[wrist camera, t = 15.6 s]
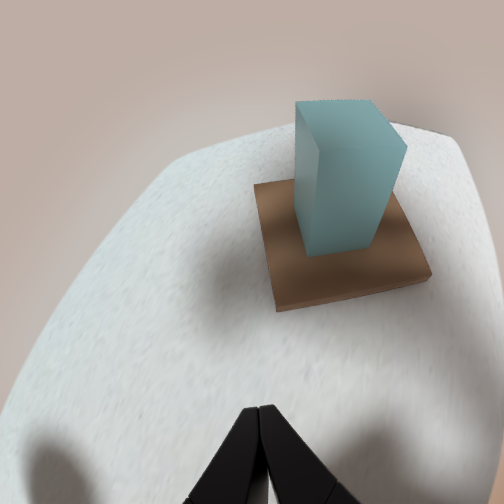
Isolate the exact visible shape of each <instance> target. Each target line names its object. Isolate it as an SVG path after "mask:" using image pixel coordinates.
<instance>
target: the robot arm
mask: <svg viewBox="0 0 504 504" xmlns="http://www.w3.org/2000/svg"><path fill="white" fill-rule="evenodd" d="M268 472H269V474H268ZM269 476H270V480H271V484H272V487H273V491H274V494H275V498H276V501H277V504H362V503H361V502H360V501H359V500H358V499H357V498H356V497H354V496H353V495H352V494H351V493H350V492H349V491H348V490H347V489H346V488H345V487H344V485H343V484H342V483H341V482H338V479H337V478H336V477H335V476H334V475H333V474H332V473H331V472H330V471H329V469H328V468H327V467H326V466H325V465H324V464H323V463H322V462H321V460H320V459H319V458H318V457H317V456H316V455H315V454H314V452H313V451H312V450H311V449H310V448H309V447H308V445H307V444H306V443H305V442H304V441H303V440H302V438H301V437H300V436H299V435H298V434H297V432H296V431H295V430H294V429H293V428H292V426H291V425H290V424H289V423H288V421H287V420H286V419H285V418H284V416H283V415H282V414H281V413H280V411H279V410H278V409H277V408H276V406H275V405H273V404H271V405H264V406H260V407H259V408H258V407H249V408H244V409H243V410H242V411H241V413H240V415H239V416H238V418H237V420H236V421H235V423H234V425H233V426H232V428H231V430H230V431H229V433H228V435H227V436H226V438H225V440H224V441H223V443H222V444H221V446H220V448H219V449H218V451H217V452H216V454H215V456H214V457H213V459H212V460H211V462H210V464H209V465H208V467H207V468H206V470H205V471H204V473H203V474H202V476H201V477H200V479H199V480H198V482H197V483H196V485H195V486H194V488H193V489H192V491H191V492H190V494H189V495H188V497H189V498H186V499H185V501H184V502H183V504H268V488H269Z"/></svg>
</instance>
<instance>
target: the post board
mask: <svg viewBox="0 0 504 504" xmlns="http://www.w3.org/2000/svg"><path fill="white" fill-rule="evenodd" d="M294 182H295V179H290V180H282V181H275V182H268V183H261V184H254V192H255V197H256V203H257V208H258V213H259V218H260V224H261V229H262V234H263V240H264V245H265V251H266V256H267V262H268V267H269V272H270V278H271V283H272V289H273V295H274V300H275V306H276V311H277V312H281V311H287V310H292V309H298V308H304V307H309V306H315V305H320V304H325V303H330V302H335V301H340V300H345V299H350V298H355V297H360V296H364V295H369V294H373V293H378V292H382V291H386V290H391V289H395V288H399V287H403V286H407V285H411V284H415V283H419V282H423V281H427V280H428V279H429V278H430V276H431V275H432V272H431V270H430V268H429V265H428V263H427V260H426V258H425V256H424V254H423V251H422V249H421V247H420V245H419V243H418V240H417V238H416V236H415V234H414V232H413V230H412V228H411V226H410V224H409V222H408V220H407V218H406V216H405V214H404V212H403V210H402V208H401V206H400V204H399V202H398V200H397V199H396V197H395V195H394V193H393V191H392V193H391V195H390V198H389V200H388V203H387V206H386V208H385V211H384V213H383V216H382V218H381V221H380V223H379V226H378V228H377V230H376V233H375V235H374V237H373V240H372V242H371V244H370V247H369V248H364V249H358V250H352V251H346V252H339V253H333V254H326V255H320V256H313V257H307V255H306V251H305V247H304V243H303V239H302V235H301V232H300V228H299V224H298V220H297V217H296V213H295V209H294Z"/></svg>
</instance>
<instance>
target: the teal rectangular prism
mask: <svg viewBox="0 0 504 504" xmlns="http://www.w3.org/2000/svg"><path fill="white" fill-rule="evenodd" d="M407 147H408V146H407V145H406V144H405V142H404V141H403V140H402V138H401V137H400V136H399V134H398V133H397V132H396V131H395V129H394V128H393V127H392V125H391V124H390V123H389V122H388V120H387V119H386V118H385V117H384V116H383V114H382V113H381V112H380V111H379V110H378V108H377V107H376V106H375V105H374V104H373V103H372V101H371V100H320V101H300V102H296V120H295V182H294V209H295V213H296V217H297V220H298V224H299V228H300V232H301V235H302V239H303V243H304V247H305V251H306V255H307V257H313V256H320V255H326V254H333V253H339V252H346V251H352V250H358V249H364V248H369V247H370V244H371V242H372V240H373V237H374V235H375V233H376V230H377V228H378V226H379V223H380V221H381V218H382V216H383V213H384V211H385V208H386V206H387V203H388V200H389V198H390V195H391V193H392V190H393V187H394V184H395V182H396V179H397V176H398V173H399V170H400V168H401V165H402V162H403V159H404V156H405V153H406V150H407Z"/></svg>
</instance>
